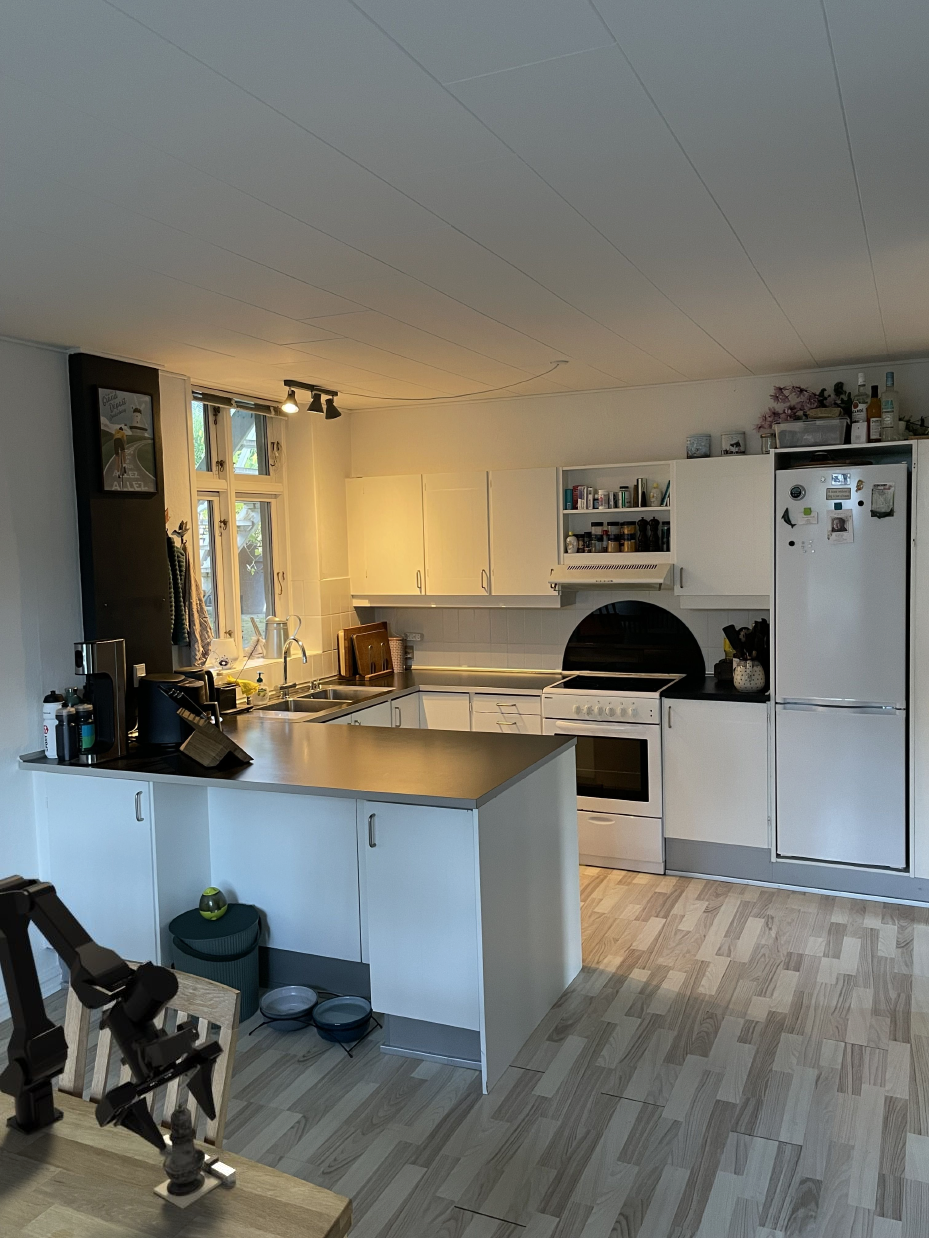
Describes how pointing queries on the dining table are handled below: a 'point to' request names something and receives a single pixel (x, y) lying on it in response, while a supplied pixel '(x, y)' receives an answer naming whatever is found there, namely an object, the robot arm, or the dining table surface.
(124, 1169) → the dining table surface
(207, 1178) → the groove pad
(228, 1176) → the white rectangular bar
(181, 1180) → the dark grey tiered figure
